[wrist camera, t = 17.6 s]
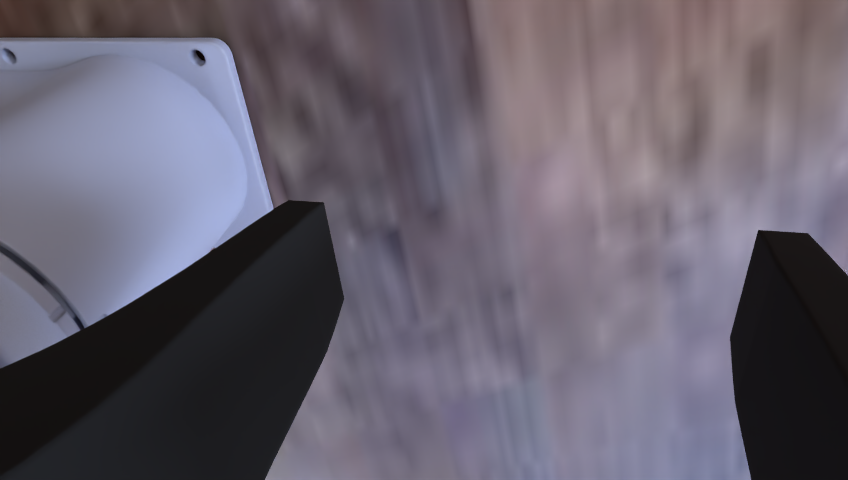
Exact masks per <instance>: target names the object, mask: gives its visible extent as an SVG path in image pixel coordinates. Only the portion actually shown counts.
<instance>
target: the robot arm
mask: <svg viewBox="0 0 848 480" xmlns="http://www.w3.org/2000/svg"><path fill="white" fill-rule="evenodd" d="M196 50H199V51H200V52H201V53H203V55H204V57H205V61H203V60H201V59H200V58H199V57H198V56H197V54H196ZM11 52H13V54H14V55H15V56H13V54H12V53H11ZM212 248H215V249H214V250H212V251H211V252H210V250H211V249H212ZM343 301H344V296H343V291H342V286H341V282H340V277H339V272H338V267H337V263H336V258H335V253H334V249H333V244H332V239H331V235H330V230H329V225H328V220H327V216H326V211H325V206H324V203H323V202H308V201H292V200H288V201H287V202H285V203H283V204H281V205H280V206H278V207H276V208H275V209H274V208H273V204H272V201H271V197H270V193H269V189H268V186H267V182H266V178H265V174H264V171H263V167H262V163H261V160H260V156H259V152H258V148H257V145H256V141H255V137H254V133H253V130H252V126H251V122H250V119H249V115H248V111H247V107H246V104H245V100H244V96H243V92H242V89H241V85H240V81H239V78H238V74H237V70H236V66H235V63H234V59H233V55H232V52H231V50H230V48H229V47H228V46H227V44H226V43H225V42H223V41H221V40H220V39H217V38H0V480H265V478H266V476H267V474H268V472H269V469H270V467H271V465H272V463H273V461H274V459H275V457H276V455H277V453H278V451H279V449H280V447H281V445H282V443H283V441H284V439H285V437H286V435H287V433H288V431H289V429H290V427H291V425H292V422H293V420H294V418H295V416H296V414H297V412H298V410H299V408H300V406H301V404H302V402H303V400H304V398H305V396H306V394H307V392H308V390H309V388H310V386H311V384H312V382H313V380H314V378H315V376H316V373H317V371H318V369H319V367H320V365H321V363H322V361H323V359H324V357H325V354H326V352H327V350H328V347H329V344H330V341H331V338H332V335H333V332H334V329H335V326H336V323H337V320H338V317H339V313H340V310H341V307H342V304H343ZM730 342H731V357H732V372H733V384H734V396H735V404H736V409H737V414H738V419H739V423H740V428H741V433H742V438H743V443H744V447H745V452H746V457H747V461H748V466H749V471H750V475H751V480H848V275H847V274H846V273H845V272H844V271H843V270H842V269H841V268H840V267H839V266H838V265H837V264H836V262H835V261H834V260H833V259H832V258H831V257H830V256H829V255H828V254H827V253H826V252H825V251H824V250H823V249H822V248H821V246H820V245H819V244H818V243H817V242H816V241H815V240H814V239H813V238H812V237H811V236H810V235H809V234H808V233H795V232H779V231H763V230H758V233H757V237H756V241H755V245H754V248H753V252H752V256H751V260H750V264H749V267H748V271H747V275H746V279H745V283H744V286H743V290H742V294H741V298H740V302H739V305H738V309H737V313H736V317H735V321H734V324H733V328H732V332H731V336H730Z"/></svg>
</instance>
